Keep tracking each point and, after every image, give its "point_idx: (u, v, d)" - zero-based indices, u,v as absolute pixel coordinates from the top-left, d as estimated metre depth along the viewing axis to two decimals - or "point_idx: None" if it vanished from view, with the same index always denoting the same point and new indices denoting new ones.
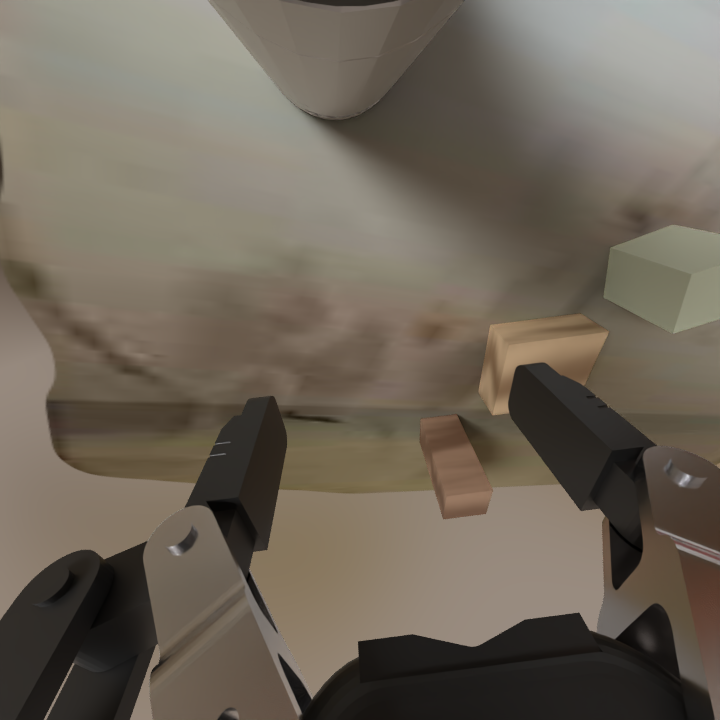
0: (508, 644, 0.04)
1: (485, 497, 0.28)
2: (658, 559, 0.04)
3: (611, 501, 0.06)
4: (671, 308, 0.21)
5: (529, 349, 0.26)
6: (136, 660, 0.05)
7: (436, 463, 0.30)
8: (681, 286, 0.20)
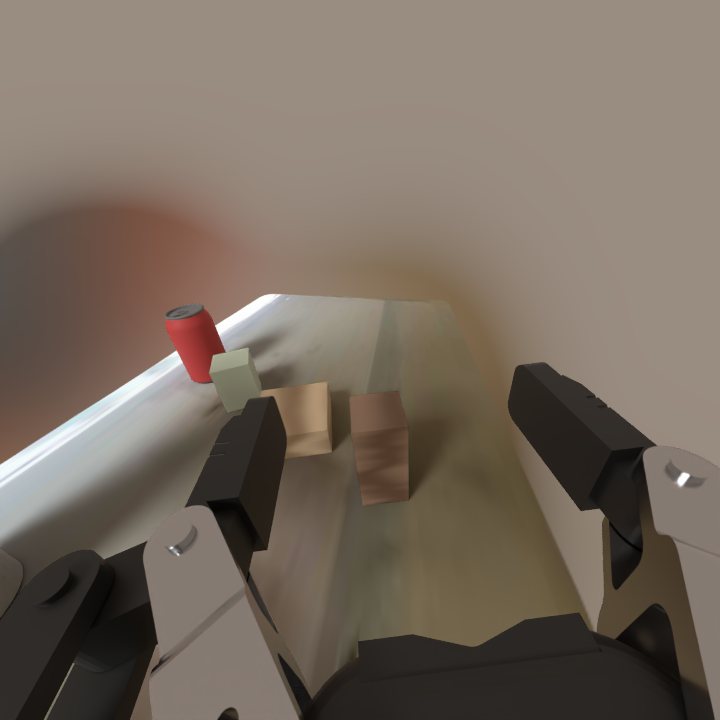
0: (508, 644, 0.04)
1: (362, 398, 0.26)
2: (658, 559, 0.04)
3: (611, 501, 0.06)
4: (234, 371, 0.39)
5: None
6: (136, 660, 0.05)
7: None
8: (218, 373, 0.38)
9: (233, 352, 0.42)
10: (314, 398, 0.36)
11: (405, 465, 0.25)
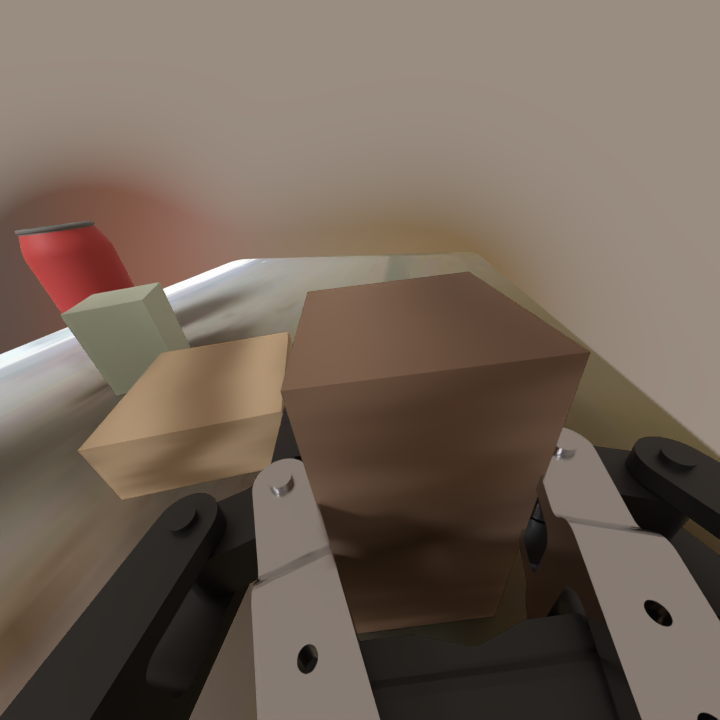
0: (508, 644, 0.04)
1: (351, 292, 0.08)
2: (561, 541, 0.05)
3: None
4: (115, 313, 0.20)
5: (122, 416, 0.15)
6: (230, 602, 0.06)
7: None
8: (81, 316, 0.20)
9: (129, 289, 0.24)
10: (261, 357, 0.18)
11: (514, 529, 0.07)
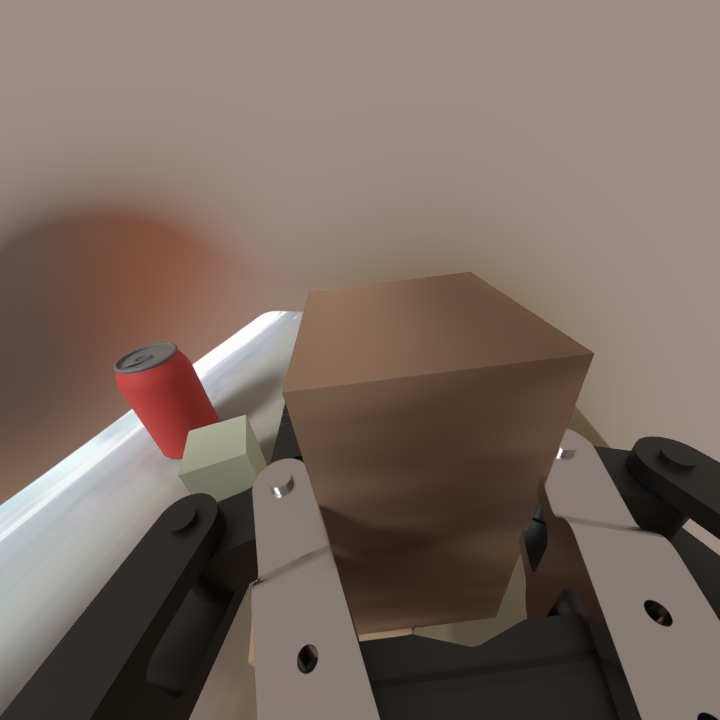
0: (508, 644, 0.04)
1: (353, 292, 0.08)
2: (560, 542, 0.05)
3: None
4: (222, 467, 0.23)
5: None
6: (230, 602, 0.06)
7: (324, 523, 0.06)
8: (195, 473, 0.22)
9: (222, 425, 0.26)
10: None
11: (516, 531, 0.07)
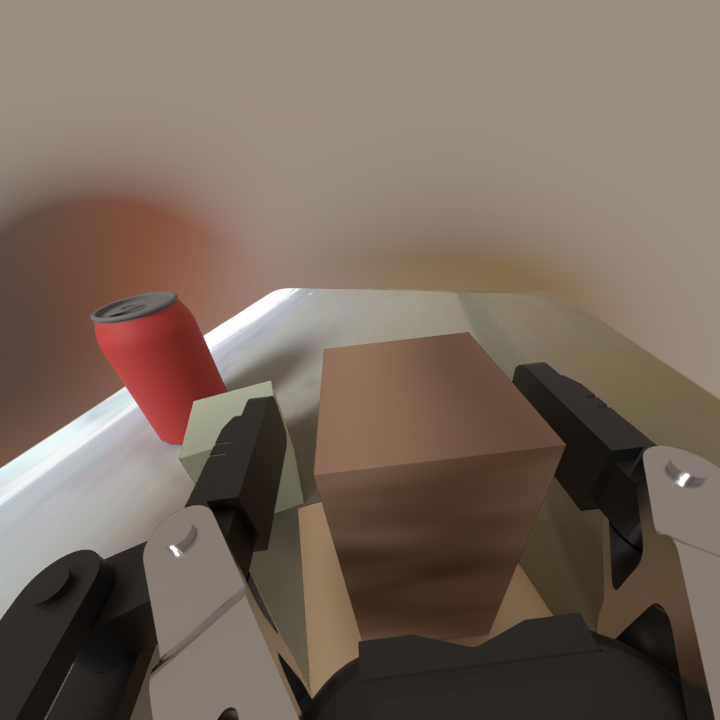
0: (508, 644, 0.04)
1: (364, 353, 0.08)
2: (658, 559, 0.04)
3: (611, 501, 0.06)
4: None
5: None
6: (136, 660, 0.05)
7: None
8: (203, 456, 0.15)
9: (239, 393, 0.19)
10: None
11: (506, 568, 0.08)
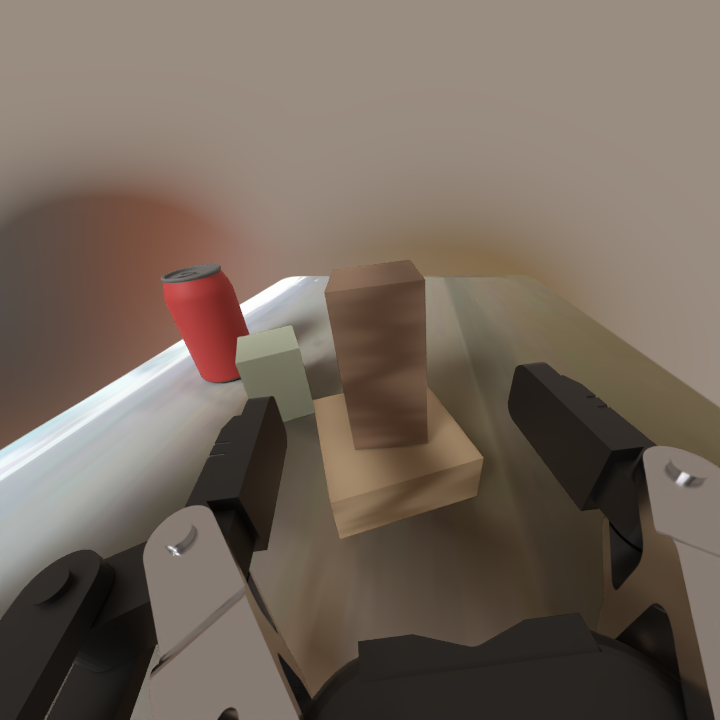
0: (507, 644, 0.04)
1: (352, 269, 0.16)
2: (658, 559, 0.04)
3: (611, 501, 0.06)
4: (276, 360, 0.23)
5: (338, 467, 0.17)
6: (136, 660, 0.05)
7: None
8: (250, 364, 0.23)
9: (269, 332, 0.27)
10: None
11: (421, 370, 0.15)
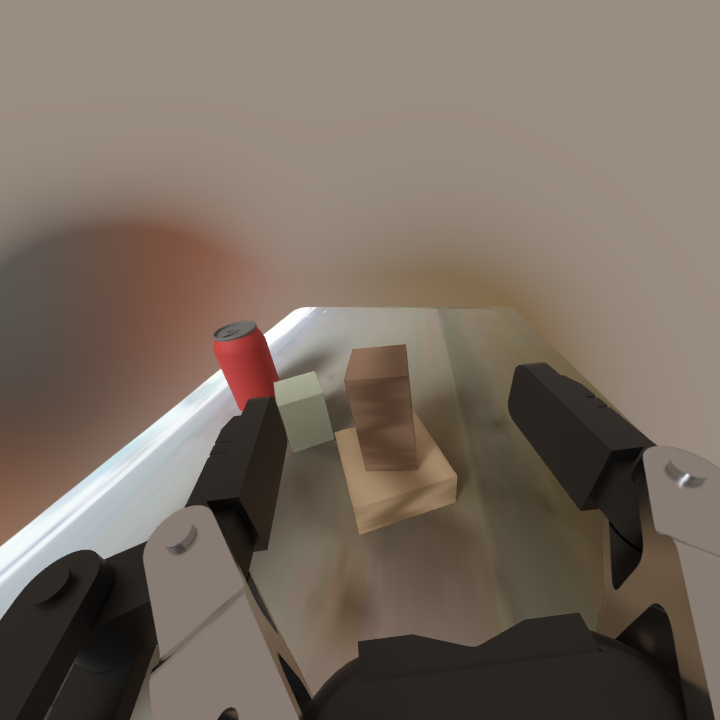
0: (508, 644, 0.04)
1: (365, 351, 0.24)
2: (658, 559, 0.04)
3: (611, 501, 0.06)
4: (306, 402, 0.31)
5: (357, 484, 0.25)
6: (136, 660, 0.05)
7: (353, 416, 0.23)
8: (287, 406, 0.30)
9: (298, 378, 0.34)
10: None
11: (408, 425, 0.22)
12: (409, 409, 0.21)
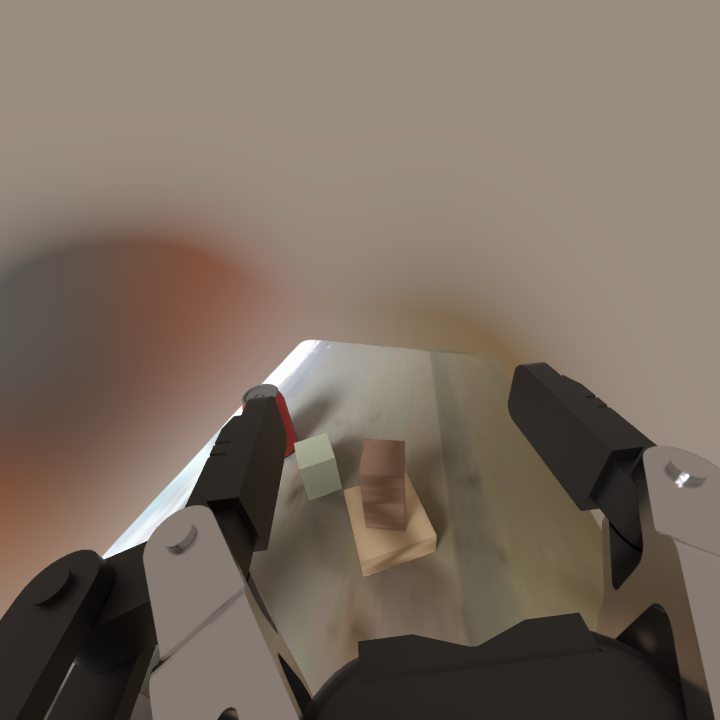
0: (508, 644, 0.04)
1: (374, 443, 0.32)
2: (658, 559, 0.04)
3: (611, 501, 0.06)
4: (321, 465, 0.39)
5: (362, 540, 0.33)
6: (136, 660, 0.05)
7: (361, 493, 0.31)
8: (307, 468, 0.39)
9: (313, 439, 0.42)
10: None
11: (401, 504, 0.31)
12: (402, 495, 0.30)
